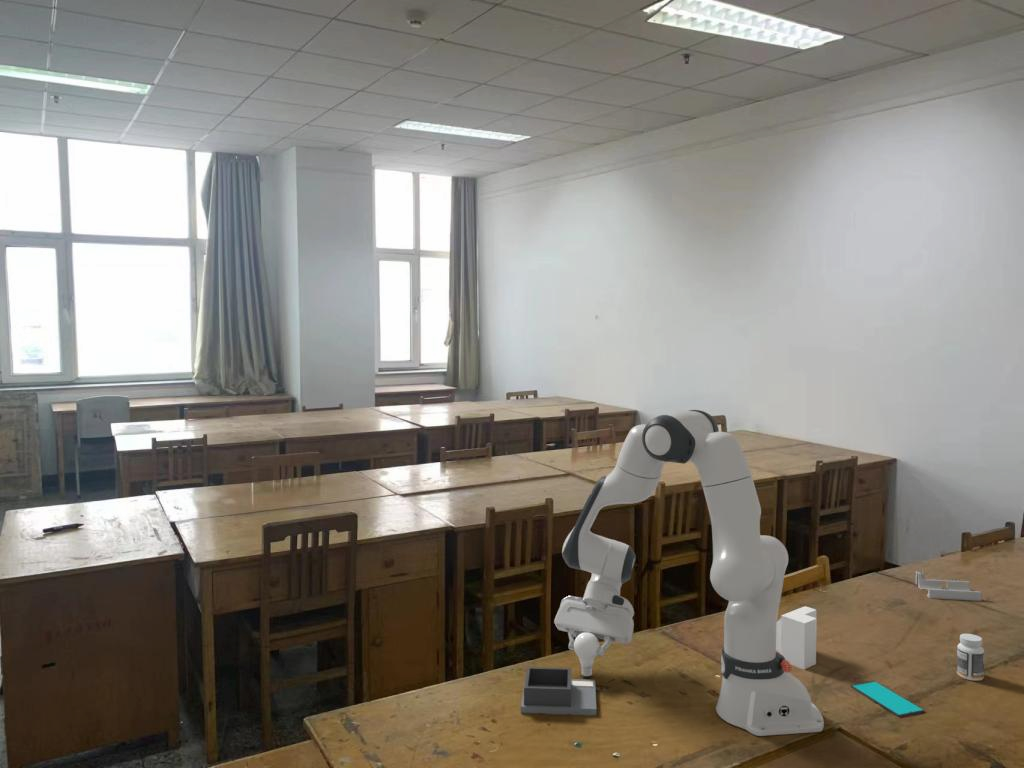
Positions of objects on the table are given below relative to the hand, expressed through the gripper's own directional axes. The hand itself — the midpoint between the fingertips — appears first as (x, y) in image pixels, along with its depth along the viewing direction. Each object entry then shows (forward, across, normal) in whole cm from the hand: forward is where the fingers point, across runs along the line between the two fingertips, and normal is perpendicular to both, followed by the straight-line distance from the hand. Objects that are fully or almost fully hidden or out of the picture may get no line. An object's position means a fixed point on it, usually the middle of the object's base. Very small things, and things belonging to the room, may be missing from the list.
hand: (585, 652), depth 184 cm
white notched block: (-21, +44, +31) cm, 58 cm away
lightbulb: (+4, 0, +5) cm, 7 cm away
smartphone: (-11, +66, +21) cm, 70 cm away
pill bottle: (-27, +83, +36) cm, 95 cm away
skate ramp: (-72, +80, +82) cm, 136 cm away
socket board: (+14, -1, -5) cm, 14 cm away
